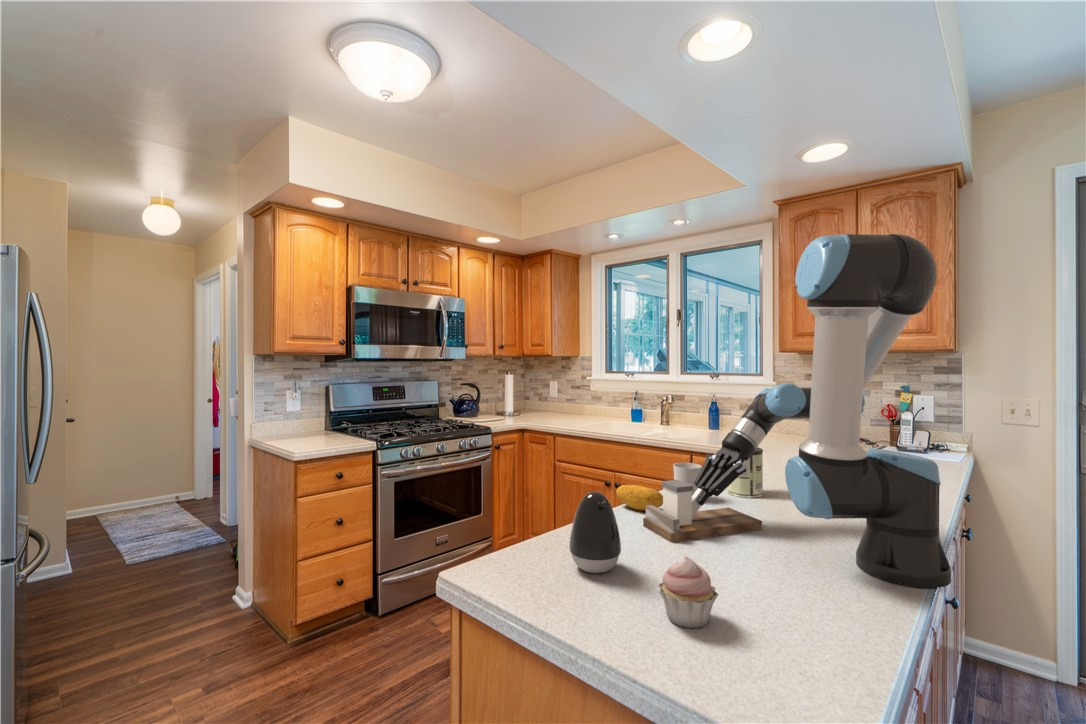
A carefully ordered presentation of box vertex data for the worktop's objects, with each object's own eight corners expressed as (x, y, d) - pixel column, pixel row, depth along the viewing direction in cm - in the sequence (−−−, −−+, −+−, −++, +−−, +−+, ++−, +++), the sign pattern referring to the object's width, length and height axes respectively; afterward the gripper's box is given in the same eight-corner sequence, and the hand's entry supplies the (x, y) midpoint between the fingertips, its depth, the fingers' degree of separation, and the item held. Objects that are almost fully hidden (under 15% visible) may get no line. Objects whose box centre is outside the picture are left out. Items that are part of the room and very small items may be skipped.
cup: (698, 495, 154) (698, 462, 154) (704, 503, 146) (704, 468, 146) (671, 495, 155) (671, 462, 155) (675, 502, 147) (675, 468, 147)
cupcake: (681, 599, 87) (681, 541, 87) (729, 621, 80) (729, 558, 80) (644, 615, 82) (644, 554, 82) (693, 641, 74) (692, 573, 74)
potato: (652, 518, 133) (652, 492, 132) (611, 507, 142) (611, 483, 142) (669, 511, 138) (669, 487, 138) (628, 501, 148) (628, 478, 148)
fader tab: (677, 516, 126) (677, 479, 126) (693, 524, 120) (693, 485, 120) (661, 518, 124) (661, 481, 124) (676, 526, 118) (676, 487, 118)
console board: (728, 515, 135) (728, 496, 135) (762, 529, 123) (762, 508, 123) (643, 525, 126) (643, 505, 126) (670, 542, 115) (670, 520, 115)
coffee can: (730, 488, 163) (730, 444, 163) (765, 492, 158) (765, 447, 158) (723, 495, 154) (723, 449, 154) (759, 500, 149) (759, 452, 149)
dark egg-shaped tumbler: (579, 582, 94) (579, 500, 94) (563, 561, 104) (562, 487, 104) (630, 576, 97) (630, 496, 97) (608, 555, 107) (608, 484, 107)
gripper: (770, 454, 124) (714, 530, 118) (733, 445, 136) (681, 514, 131) (752, 434, 122) (694, 510, 117) (717, 427, 134) (663, 496, 129)
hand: (687, 512), depth 124 cm, fingers closed
